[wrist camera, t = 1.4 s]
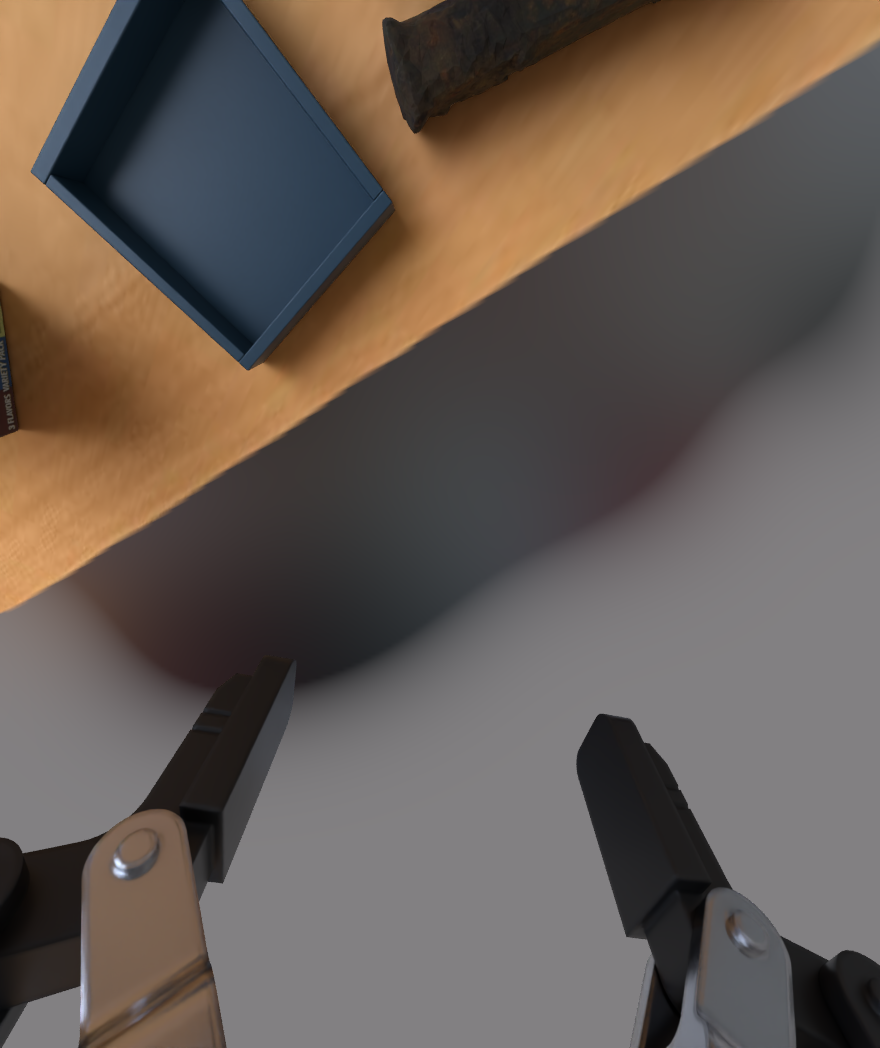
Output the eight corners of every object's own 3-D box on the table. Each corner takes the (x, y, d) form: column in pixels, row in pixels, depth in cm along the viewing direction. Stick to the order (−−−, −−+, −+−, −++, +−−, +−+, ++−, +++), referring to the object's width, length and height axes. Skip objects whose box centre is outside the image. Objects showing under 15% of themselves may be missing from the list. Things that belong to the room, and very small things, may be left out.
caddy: (72, 183, 23) (29, 171, 21) (201, -51, 19) (166, -101, 17) (263, 362, 28) (247, 371, 26) (395, 209, 24) (392, 202, 22)
